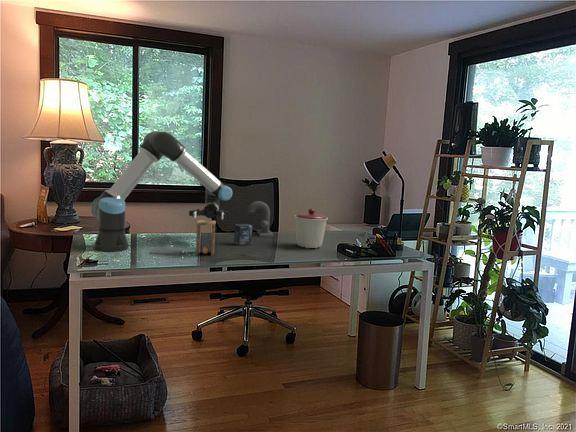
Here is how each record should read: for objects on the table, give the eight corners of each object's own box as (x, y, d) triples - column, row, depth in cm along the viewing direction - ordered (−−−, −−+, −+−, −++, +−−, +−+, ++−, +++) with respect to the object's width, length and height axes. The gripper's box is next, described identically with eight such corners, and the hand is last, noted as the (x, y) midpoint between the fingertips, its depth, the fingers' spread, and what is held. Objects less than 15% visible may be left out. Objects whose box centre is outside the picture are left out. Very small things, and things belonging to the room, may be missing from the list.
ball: (201, 254, 235) (201, 247, 234) (201, 252, 238) (201, 245, 238) (208, 254, 235) (208, 247, 235) (208, 253, 238) (209, 245, 238)
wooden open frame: (195, 255, 232) (196, 222, 230) (196, 251, 240) (198, 219, 238) (213, 256, 233) (214, 223, 231) (214, 252, 241) (215, 220, 239)
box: (238, 245, 261) (239, 225, 259) (233, 243, 265) (234, 224, 264) (251, 244, 265) (252, 225, 263) (246, 242, 270) (247, 223, 268)
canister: (316, 243, 281) (319, 206, 279) (331, 250, 265) (334, 211, 262) (287, 243, 274) (289, 206, 272) (300, 250, 258) (303, 210, 255)
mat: (150, 253, 229) (150, 252, 228) (155, 248, 241) (155, 246, 241) (179, 255, 230) (179, 253, 230) (182, 249, 243) (182, 248, 243)
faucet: (244, 231, 306) (246, 198, 303) (269, 232, 309) (271, 200, 306) (247, 236, 288) (249, 202, 286) (274, 237, 291) (276, 203, 289)
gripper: (234, 218, 267) (233, 224, 246) (187, 216, 264) (182, 222, 243) (234, 204, 266) (234, 209, 245) (187, 202, 263) (182, 207, 242)
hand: (208, 216), depth 244 cm, fingers open, 13 cm apart
